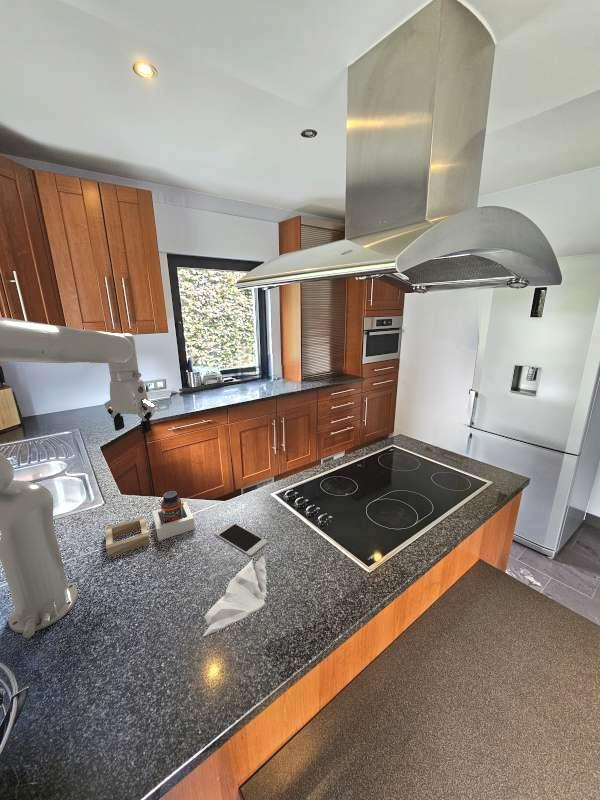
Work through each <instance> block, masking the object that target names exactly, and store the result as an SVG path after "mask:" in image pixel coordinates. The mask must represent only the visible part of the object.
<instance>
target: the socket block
mask: <svg viewBox="0 0 600 800" xmlns="http://www.w3.org/2000/svg"><path fill="white" fill-rule="evenodd" d="M181 505H182V514H183V518H182V519H179V520H176V521H173V522H170V523H166V524H163V519H162V510H161V508H158V509H154V510H152V511H151V512H152V513H151V514H152V519H153V525H154V528H155V534H156V536H157V537H156V538H157V540H158V542H160V541H163V540H166V539H169V538H172V537H175V536H177V535H181V534H184V533H187V532H190V531H193V530H196V526H195V518H194V516H193V514H192V511H191V509H190V507H189V505H188V503H187V501H184V500H181ZM184 517H185V518H184Z"/></svg>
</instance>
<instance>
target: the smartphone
mask: <svg viewBox="0 0 600 800" xmlns="http://www.w3.org/2000/svg"><path fill="white" fill-rule="evenodd" d="M214 534H215V536H216V537H217V538H219V539H221V540H222V541H223V542H225V543H227V544H229V545H230V546H233V547H234V548H235V549H237V550H238V551H241V552H242V553H244V554H245V555H246V556H248V557H252V556H255V554H256V553H257V552H259V551H260V550H261V549H263V547H265V546H267V544H268V541H267V540H266V539H264V538H263V537H261V536H259V535H257V534H256V533H254V532H252V531H250V530H248V529H246V528H245V527H243V526H241V525H240V524H237V523H235V522H234V521H232V522H230V523H229V524H227V525H225V526H224V527H223V528H221V529H219V530H218V531H216V532H215V533H214Z"/></svg>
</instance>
